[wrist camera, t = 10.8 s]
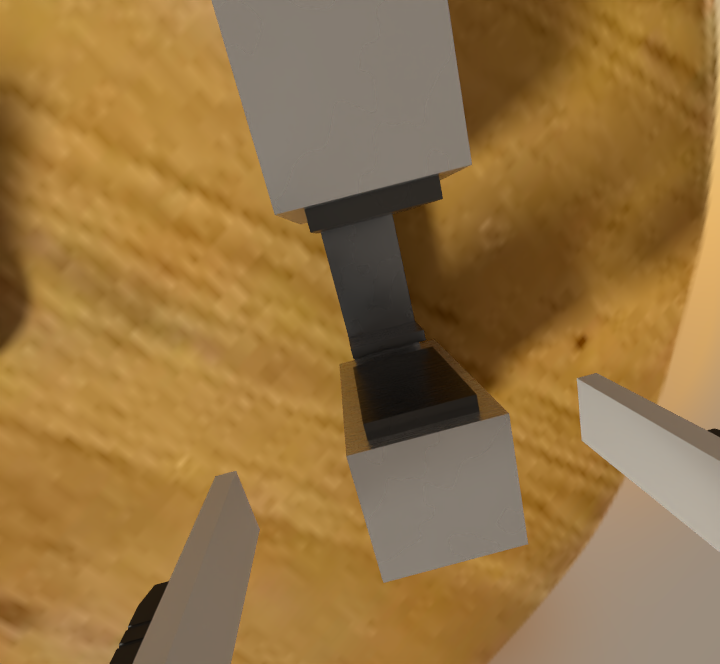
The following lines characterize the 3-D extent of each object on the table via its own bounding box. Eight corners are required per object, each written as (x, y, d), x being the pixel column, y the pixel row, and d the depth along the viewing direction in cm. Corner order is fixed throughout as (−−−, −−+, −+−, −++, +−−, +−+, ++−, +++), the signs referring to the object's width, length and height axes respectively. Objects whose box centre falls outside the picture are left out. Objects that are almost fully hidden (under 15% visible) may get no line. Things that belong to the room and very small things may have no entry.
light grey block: (451, 424, 20) (527, 544, 12) (362, 447, 20) (383, 582, 12) (432, 328, 18) (506, 395, 11) (336, 353, 18) (341, 438, 11)
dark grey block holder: (265, 87, 17) (175, -122, 7) (367, 61, 17) (420, -181, 7) (364, 445, 23) (393, 615, 13) (442, 424, 23) (533, 577, 13)
